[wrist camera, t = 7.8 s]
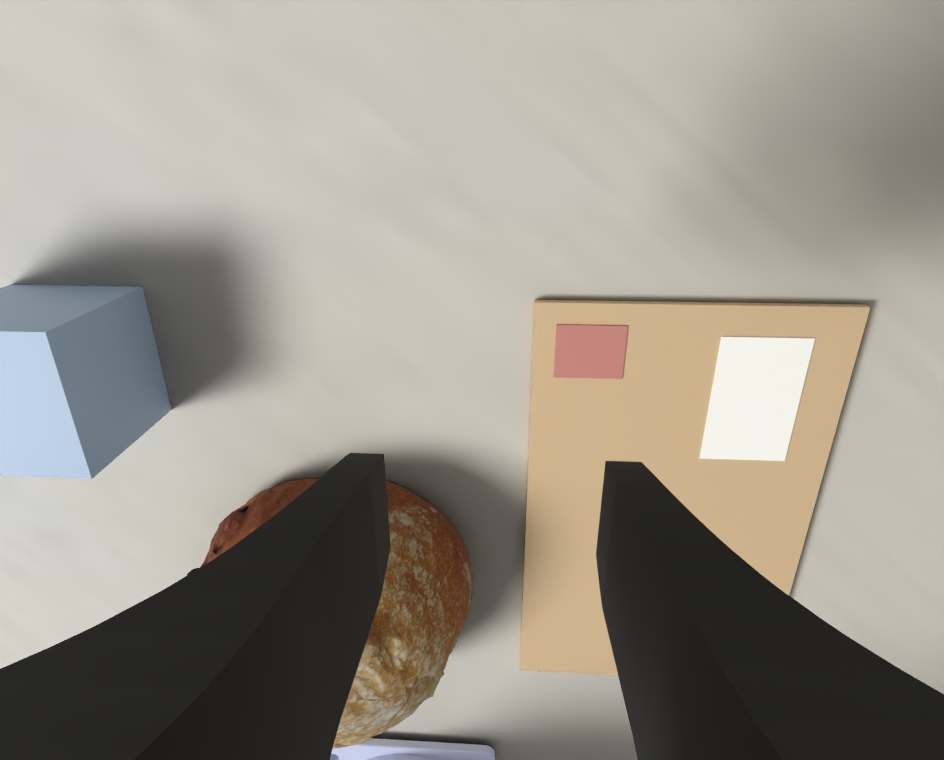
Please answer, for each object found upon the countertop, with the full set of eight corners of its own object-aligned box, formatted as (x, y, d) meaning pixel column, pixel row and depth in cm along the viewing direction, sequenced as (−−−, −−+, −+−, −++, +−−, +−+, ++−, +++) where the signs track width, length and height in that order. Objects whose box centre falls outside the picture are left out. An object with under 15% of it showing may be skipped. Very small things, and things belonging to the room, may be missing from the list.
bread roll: (418, 606, 29) (479, 767, 23) (188, 644, 25) (181, 853, 19) (454, 436, 25) (540, 572, 19) (185, 446, 21) (176, 626, 14)
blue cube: (172, 408, 21) (91, 478, 17) (52, 405, 22) (-56, 474, 17) (143, 285, 19) (45, 332, 15) (12, 283, 20) (-118, 329, 16)
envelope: (761, 676, 25) (764, 683, 24) (520, 664, 25) (520, 671, 25) (864, 304, 18) (871, 307, 18) (534, 299, 19) (535, 303, 18)
